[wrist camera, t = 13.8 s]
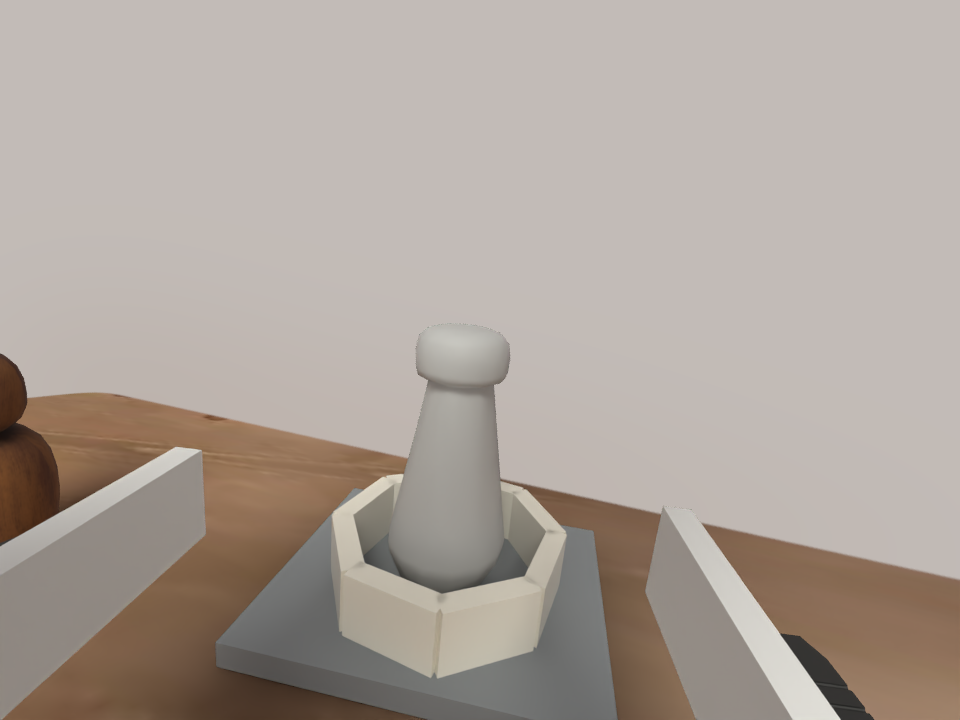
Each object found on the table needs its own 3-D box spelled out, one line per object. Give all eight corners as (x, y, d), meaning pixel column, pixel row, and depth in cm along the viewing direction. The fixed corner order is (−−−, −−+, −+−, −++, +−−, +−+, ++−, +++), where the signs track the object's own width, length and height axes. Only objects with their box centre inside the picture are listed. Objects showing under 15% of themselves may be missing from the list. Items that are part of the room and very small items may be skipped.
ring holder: (597, 632, 21) (607, 575, 20) (348, 704, 16) (350, 635, 16) (497, 504, 31) (502, 463, 30) (326, 528, 26) (326, 481, 26)
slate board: (590, 547, 29) (593, 530, 29) (614, 766, 16) (620, 740, 16) (354, 503, 31) (354, 488, 31) (216, 666, 19) (215, 642, 18)
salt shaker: (368, 558, 24) (379, 316, 21) (459, 529, 27) (479, 316, 24) (419, 637, 20) (442, 342, 17) (521, 591, 23) (555, 338, 20)
